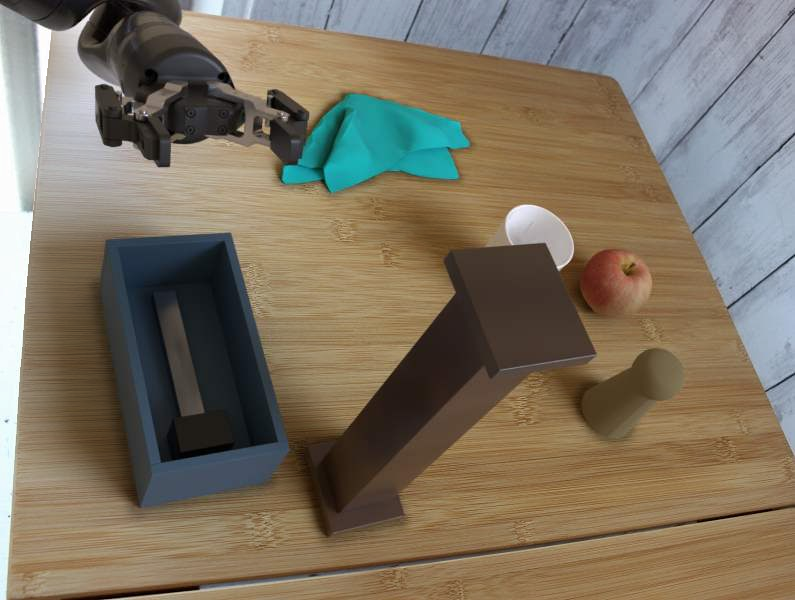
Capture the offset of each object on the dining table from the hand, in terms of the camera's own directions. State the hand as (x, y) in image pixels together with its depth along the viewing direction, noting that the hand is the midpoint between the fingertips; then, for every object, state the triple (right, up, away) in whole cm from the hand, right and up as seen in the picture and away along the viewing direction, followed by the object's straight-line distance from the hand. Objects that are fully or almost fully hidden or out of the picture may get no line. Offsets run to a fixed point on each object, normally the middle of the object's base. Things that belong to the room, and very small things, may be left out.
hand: (232, 152), depth 54 cm
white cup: (+21, -8, +39) cm, 45 cm away
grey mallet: (-8, -16, +19) cm, 26 cm away
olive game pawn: (+33, -22, +35) cm, 53 cm away
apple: (+34, -10, +43) cm, 56 cm away
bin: (-8, -17, +19) cm, 27 cm away
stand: (+7, -26, +20) cm, 33 cm away
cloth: (+8, +9, +43) cm, 45 cm away
